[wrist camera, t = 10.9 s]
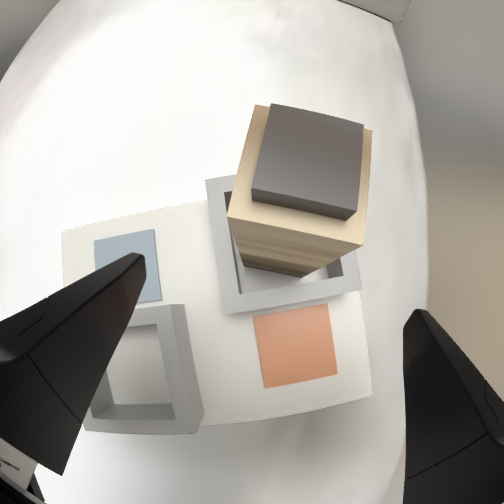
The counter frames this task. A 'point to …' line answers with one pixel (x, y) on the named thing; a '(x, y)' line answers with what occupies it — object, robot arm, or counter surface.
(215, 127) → the counter surface
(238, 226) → the plug
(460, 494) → the robot arm
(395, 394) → the counter surface
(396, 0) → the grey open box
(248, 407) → the socket panel
